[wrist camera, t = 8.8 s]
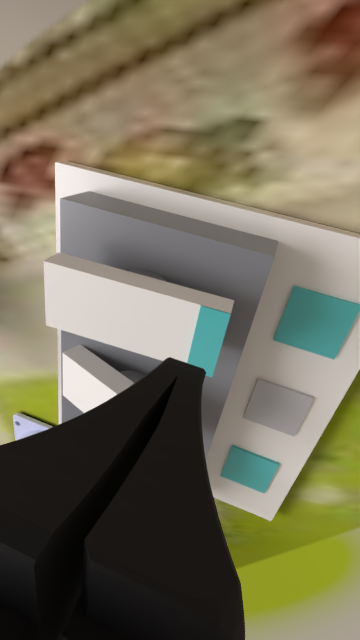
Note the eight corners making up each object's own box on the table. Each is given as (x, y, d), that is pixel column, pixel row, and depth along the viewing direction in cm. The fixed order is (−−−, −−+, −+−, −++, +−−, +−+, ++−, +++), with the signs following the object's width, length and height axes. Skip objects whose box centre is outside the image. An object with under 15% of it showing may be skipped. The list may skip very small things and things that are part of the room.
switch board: (272, 509, 26) (268, 556, 23) (65, 425, 29) (39, 457, 26) (419, 248, 15) (447, 275, 12) (66, 161, 18) (21, 165, 15)
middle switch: (190, 454, 18) (163, 483, 17) (91, 378, 22) (61, 395, 20) (203, 412, 17) (174, 440, 15) (94, 337, 20) (60, 353, 18)
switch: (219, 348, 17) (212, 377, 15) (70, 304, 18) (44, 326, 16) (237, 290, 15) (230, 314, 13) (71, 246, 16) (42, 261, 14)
